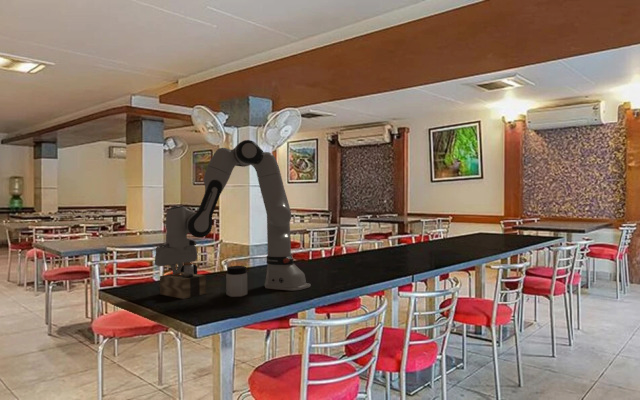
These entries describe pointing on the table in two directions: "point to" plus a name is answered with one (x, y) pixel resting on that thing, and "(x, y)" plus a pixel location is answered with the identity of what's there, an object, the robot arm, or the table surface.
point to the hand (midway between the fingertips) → (176, 273)
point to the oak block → (182, 285)
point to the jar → (236, 281)
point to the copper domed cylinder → (188, 270)
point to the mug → (193, 269)
